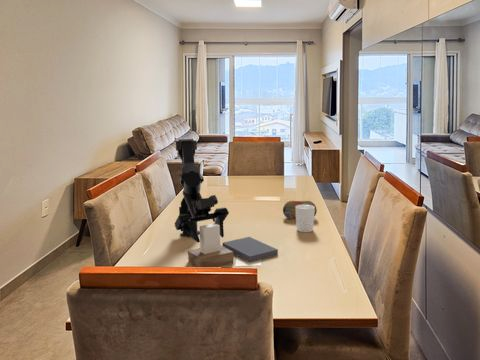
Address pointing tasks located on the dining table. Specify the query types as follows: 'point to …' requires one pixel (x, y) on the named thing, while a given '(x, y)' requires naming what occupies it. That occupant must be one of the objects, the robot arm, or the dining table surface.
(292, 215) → the tin
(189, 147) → the robot arm
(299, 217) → the white cup
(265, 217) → the dining table surface
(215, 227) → the white rectangular block
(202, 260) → the walnut stand
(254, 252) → the rubber mat
